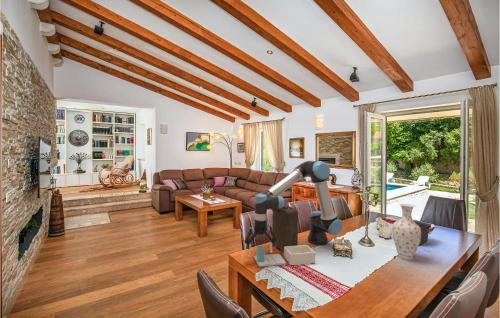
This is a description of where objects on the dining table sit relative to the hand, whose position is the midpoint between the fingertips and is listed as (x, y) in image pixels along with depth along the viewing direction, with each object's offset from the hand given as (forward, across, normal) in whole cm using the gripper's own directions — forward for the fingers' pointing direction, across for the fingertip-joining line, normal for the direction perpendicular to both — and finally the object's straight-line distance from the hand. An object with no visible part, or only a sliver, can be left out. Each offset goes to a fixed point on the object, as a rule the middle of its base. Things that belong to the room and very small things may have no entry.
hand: (260, 253), depth 151 cm
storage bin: (+6, -128, -10) cm, 129 cm away
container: (+6, -22, -18) cm, 29 cm away
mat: (+6, -6, 0) cm, 8 cm away
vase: (+6, -96, +11) cm, 97 cm away
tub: (+6, -25, +2) cm, 26 cm away
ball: (+5, -28, 0) cm, 28 cm away
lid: (+5, -6, 0) cm, 8 cm away
